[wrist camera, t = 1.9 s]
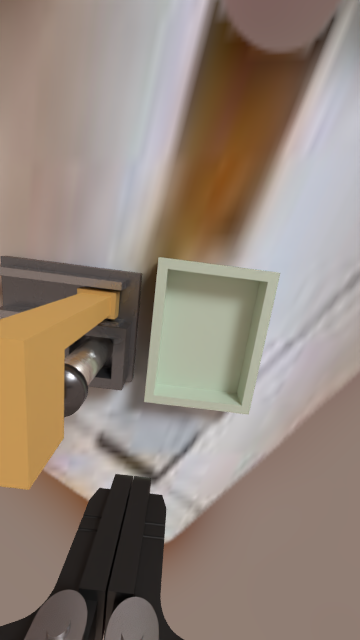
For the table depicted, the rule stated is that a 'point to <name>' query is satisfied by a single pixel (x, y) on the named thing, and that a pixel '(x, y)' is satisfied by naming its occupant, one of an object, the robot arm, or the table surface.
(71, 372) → the pin
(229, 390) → the tray
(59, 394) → the bracket
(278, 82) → the table surface
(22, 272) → the hitch
